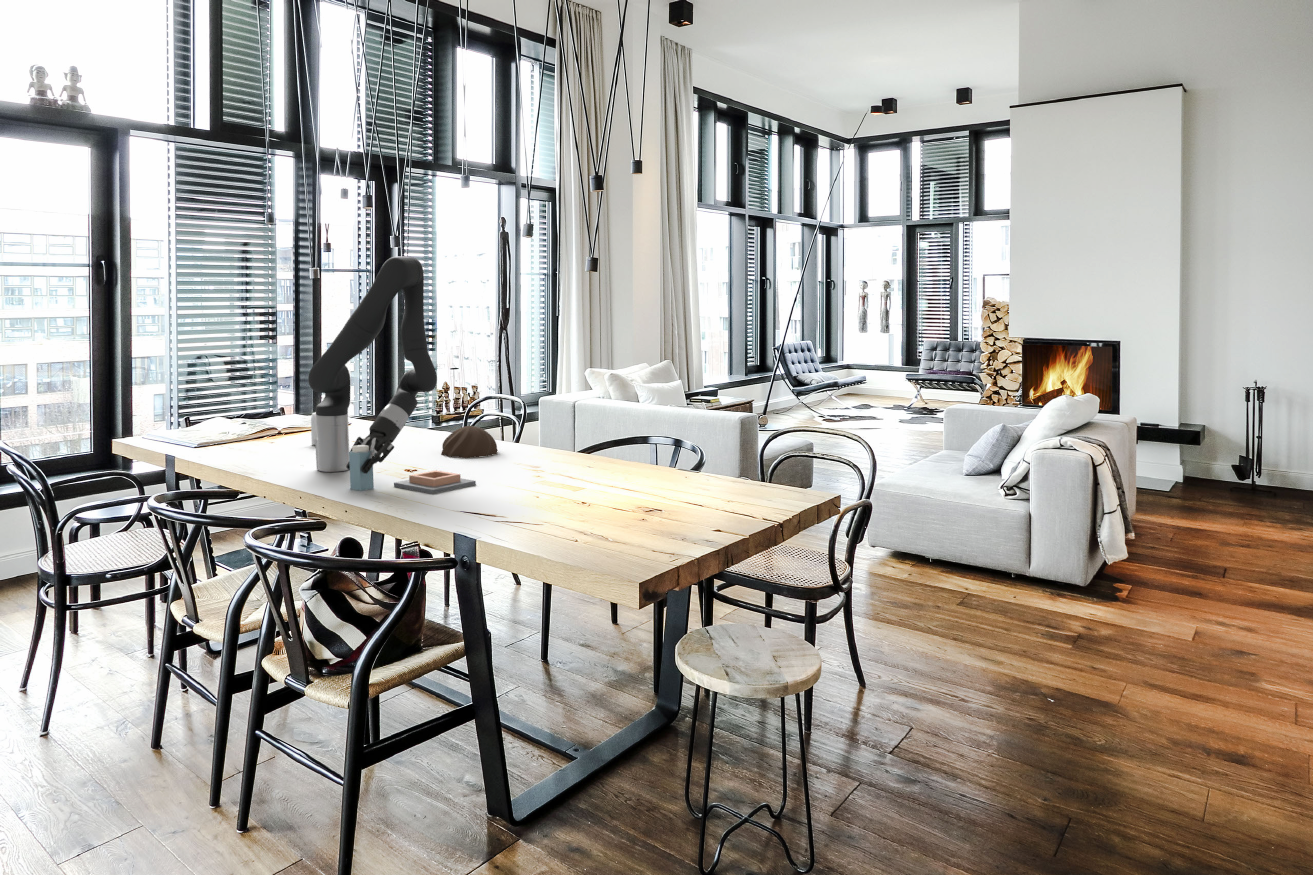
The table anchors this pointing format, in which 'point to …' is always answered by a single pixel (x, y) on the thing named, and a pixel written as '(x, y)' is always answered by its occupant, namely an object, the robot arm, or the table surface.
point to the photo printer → (313, 428)
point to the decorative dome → (469, 443)
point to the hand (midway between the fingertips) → (356, 470)
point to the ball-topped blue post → (356, 461)
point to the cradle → (434, 482)
